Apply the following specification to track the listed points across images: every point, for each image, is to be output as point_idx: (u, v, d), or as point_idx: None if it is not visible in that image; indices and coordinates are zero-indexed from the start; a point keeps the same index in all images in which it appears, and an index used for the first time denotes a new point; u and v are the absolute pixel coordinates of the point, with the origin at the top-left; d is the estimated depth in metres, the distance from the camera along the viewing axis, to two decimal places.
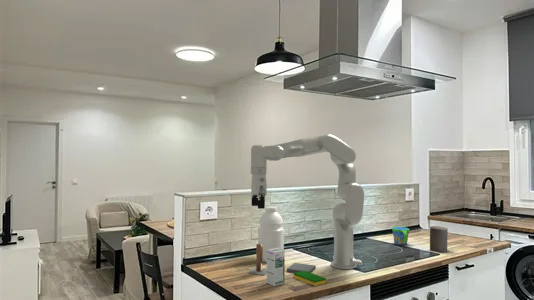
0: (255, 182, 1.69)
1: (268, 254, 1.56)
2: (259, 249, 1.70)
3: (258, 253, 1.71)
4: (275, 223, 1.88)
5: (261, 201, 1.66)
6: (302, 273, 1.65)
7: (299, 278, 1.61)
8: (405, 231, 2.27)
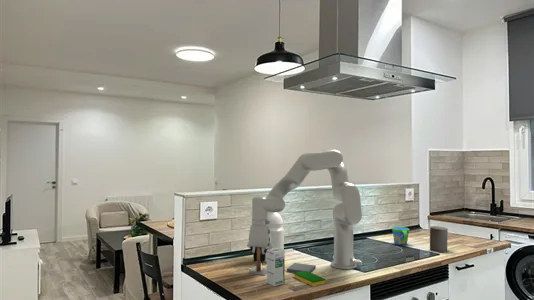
0: (262, 235, 1.69)
1: (268, 254, 1.56)
2: (259, 249, 1.70)
3: (258, 253, 1.71)
4: (275, 223, 1.88)
5: (264, 255, 1.70)
6: (303, 273, 1.65)
7: (299, 278, 1.62)
8: (405, 231, 2.27)
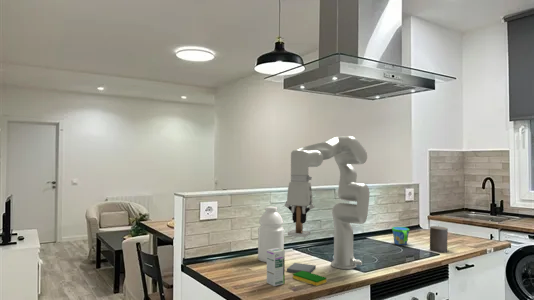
0: (303, 192, 1.50)
1: (268, 254, 1.56)
2: (299, 208, 1.52)
3: (298, 213, 1.52)
4: (275, 223, 1.88)
5: (305, 215, 1.52)
6: (301, 273, 1.65)
7: (299, 278, 1.61)
8: (405, 231, 2.27)
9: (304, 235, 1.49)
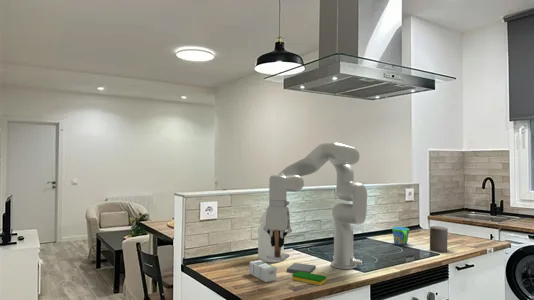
0: (281, 217, 1.54)
1: (251, 271, 1.68)
2: (276, 232, 1.55)
3: (276, 237, 1.55)
4: None
5: (283, 239, 1.55)
6: (300, 273, 1.64)
7: (300, 279, 1.60)
8: (405, 231, 2.27)
9: (281, 259, 1.53)
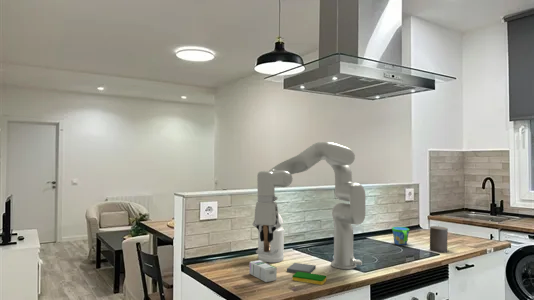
0: (269, 212, 1.56)
1: (251, 271, 1.68)
2: (265, 228, 1.58)
3: (265, 232, 1.58)
4: None
5: (272, 234, 1.58)
6: (300, 274, 1.63)
7: (301, 280, 1.59)
8: (405, 231, 2.27)
9: (270, 254, 1.55)
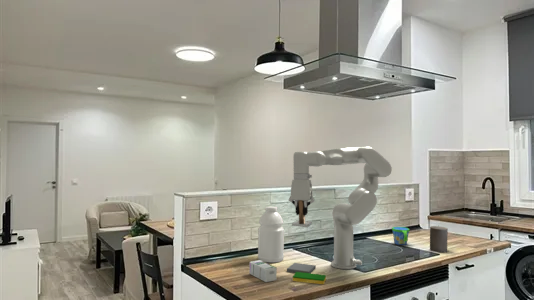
0: (305, 188, 1.73)
1: (251, 271, 1.68)
2: (300, 202, 1.75)
3: (300, 206, 1.75)
4: (275, 223, 1.88)
5: (306, 208, 1.75)
6: (299, 274, 1.63)
7: (301, 280, 1.59)
8: (405, 231, 2.27)
9: (306, 225, 1.72)
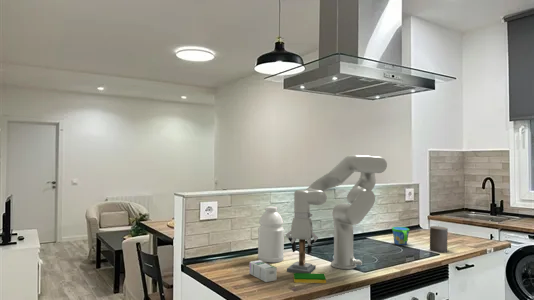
0: (305, 227, 1.73)
1: (251, 271, 1.68)
2: (301, 243, 1.75)
3: (301, 248, 1.75)
4: (275, 223, 1.88)
5: (310, 246, 1.74)
6: (299, 275, 1.62)
7: (303, 281, 1.58)
8: (405, 231, 2.27)
9: (305, 268, 1.72)
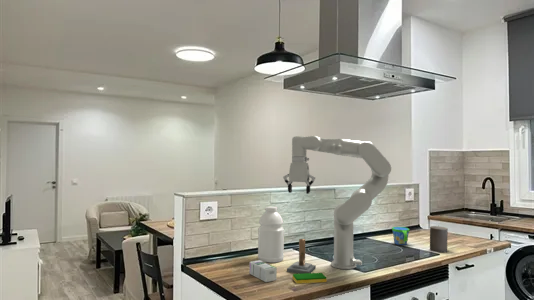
0: (302, 170, 1.85)
1: (251, 271, 1.68)
2: (301, 243, 1.75)
3: (301, 248, 1.75)
4: (275, 223, 1.88)
5: (309, 187, 1.85)
6: (300, 276, 1.61)
7: (305, 281, 1.57)
8: (405, 231, 2.27)
9: (305, 268, 1.72)
